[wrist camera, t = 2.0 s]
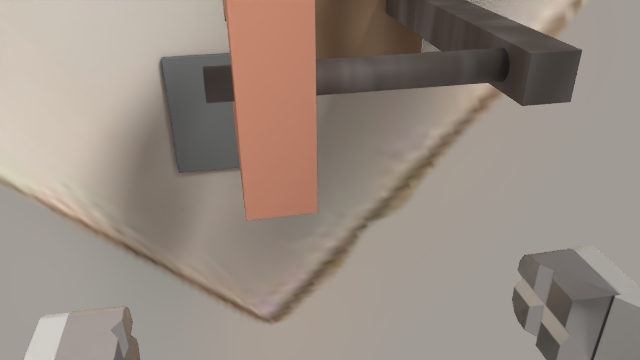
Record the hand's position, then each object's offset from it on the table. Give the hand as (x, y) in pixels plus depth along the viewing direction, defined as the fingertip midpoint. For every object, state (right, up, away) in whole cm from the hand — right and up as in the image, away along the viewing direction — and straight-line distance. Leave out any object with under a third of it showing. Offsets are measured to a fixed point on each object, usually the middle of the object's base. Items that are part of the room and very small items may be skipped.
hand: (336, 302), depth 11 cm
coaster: (-8, +8, +34) cm, 36 cm away
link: (-4, +11, +20) cm, 23 cm away
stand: (-1, +17, +31) cm, 35 cm away
